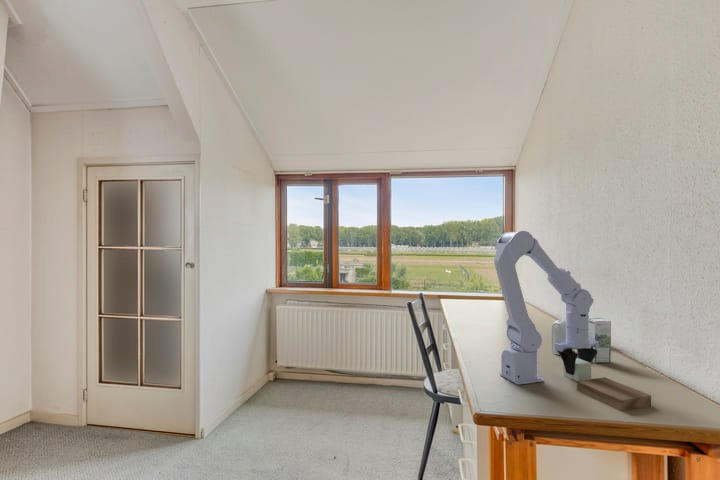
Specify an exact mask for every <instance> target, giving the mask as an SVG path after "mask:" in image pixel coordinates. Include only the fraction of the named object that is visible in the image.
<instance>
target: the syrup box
mask: <svg viewBox="0 0 720 480" xmlns="http://www.w3.org/2000/svg"><path fill="white" fill-rule="evenodd" d="M588 340H596V341H599V347H598V348H595V347H593V349H596V350H597V354H596V356H595V357H594V359H593V360H592V363H595V364H596V363H597V364H599V363H600V364H602V363H603V364H606V363H607V364H609V363H611V360H612V359H611V357H612V356H611V352H612V351H611V350H612V321H611V320H609V319H607V318H604V317H601V316H600V317H599V316H598V317H597V316H595V317H590V316H589V317H588Z"/></svg>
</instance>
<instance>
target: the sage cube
mask: <svg viewBox="0 0 720 480" xmlns="http://www.w3.org/2000/svg"><path fill="white" fill-rule="evenodd" d="M563 376H564V377H567V378H569V379H571V380H573V381H575V382H577V381H581V380H589V379H592V363H590V362H587V361H584V360H582V359H579V357H577V358H576V362H575V371H574V375H570V374H568V373H566V370H565V366H564V365H563Z"/></svg>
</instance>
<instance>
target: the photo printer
mask: <svg viewBox="0 0 720 480" xmlns="http://www.w3.org/2000/svg"><path fill="white" fill-rule="evenodd" d="M565 340H566V318H560V319H558V320H555V322H553V324H552V326H551V353H553V354H554V355H557V356H560V354H559V353H558V351H557V350H555V343H559V342H562V341H565ZM572 351H573V352H574V351H575V349H572Z"/></svg>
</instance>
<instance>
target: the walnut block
mask: <svg viewBox="0 0 720 480" xmlns="http://www.w3.org/2000/svg"><path fill="white" fill-rule="evenodd" d="M576 391H578V392H579V393H581V394H584V395H585V396H588V397H590V398H592V399H594V400H596V401H599V402H601V403H603V404H605V405H607V406H610V407H611V408H613V409H615V410H618V411H619V412H620V411H621V412H623V411H624V412H625V411H629V410H634V409H640V408H645V407H651V406H652V395H651V394H648V393H645V392H643V391H640V390H639V389H635V388H633V387H630V386H628V385H626V384H622V383H620V382H618V381H615V380H613V379H610V378H607V377H605V376H604V377H596V378H591V379H589V380H581V381H576Z"/></svg>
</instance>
